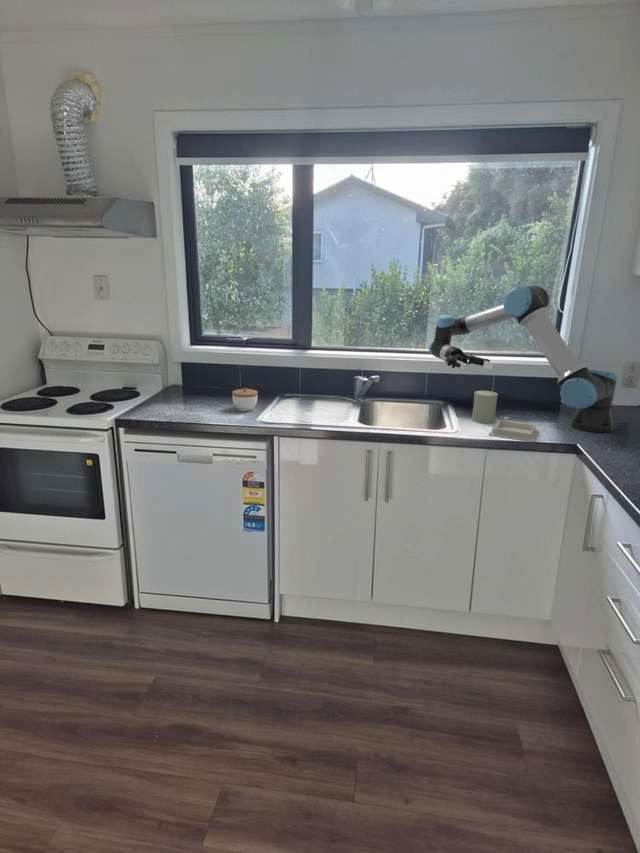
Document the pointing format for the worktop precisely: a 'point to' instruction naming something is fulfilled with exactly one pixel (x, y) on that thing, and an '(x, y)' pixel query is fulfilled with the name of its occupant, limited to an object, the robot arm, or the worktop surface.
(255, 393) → the lidded jar
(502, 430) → the square tray
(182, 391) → the worktop surface
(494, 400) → the can
